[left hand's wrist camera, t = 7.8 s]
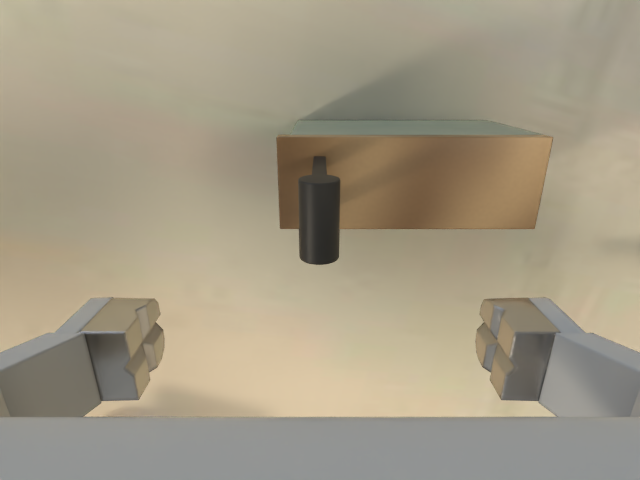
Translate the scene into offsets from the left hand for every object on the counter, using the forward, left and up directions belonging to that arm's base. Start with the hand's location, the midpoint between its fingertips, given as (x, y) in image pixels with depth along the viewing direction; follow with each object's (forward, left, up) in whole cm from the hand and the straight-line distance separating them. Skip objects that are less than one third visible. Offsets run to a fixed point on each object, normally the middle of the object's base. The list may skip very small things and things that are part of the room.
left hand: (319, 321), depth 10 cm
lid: (+3, -4, -15) cm, 16 cm away
